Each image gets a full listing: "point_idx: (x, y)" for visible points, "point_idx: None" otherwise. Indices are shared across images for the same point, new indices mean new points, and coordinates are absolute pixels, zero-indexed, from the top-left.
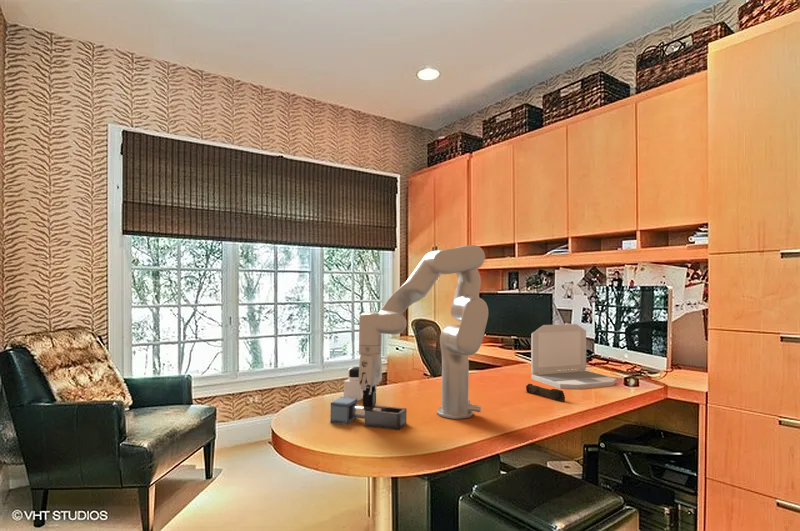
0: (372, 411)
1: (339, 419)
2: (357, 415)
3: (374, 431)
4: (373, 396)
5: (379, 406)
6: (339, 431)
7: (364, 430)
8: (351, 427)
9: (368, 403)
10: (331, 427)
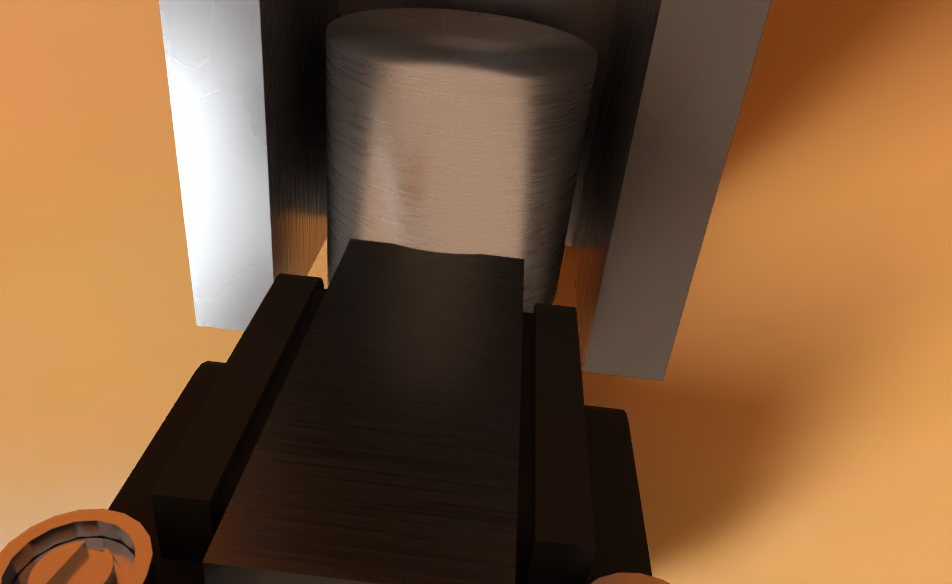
0: (705, 220)
1: None
2: None
3: (896, 3)
4: (443, 458)
5: (246, 156)
6: (888, 465)
7: (841, 182)
8: (710, 378)
9: (623, 425)
10: (734, 562)
